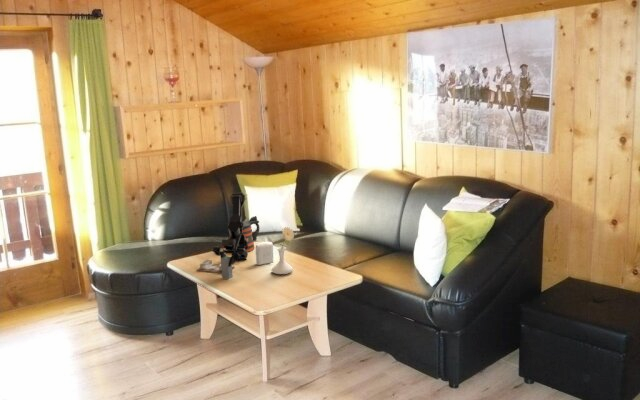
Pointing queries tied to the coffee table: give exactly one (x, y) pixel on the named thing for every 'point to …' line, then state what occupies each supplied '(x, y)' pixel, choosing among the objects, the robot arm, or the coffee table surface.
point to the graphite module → (226, 268)
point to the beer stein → (250, 232)
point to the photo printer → (264, 253)
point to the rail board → (210, 267)
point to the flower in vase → (282, 265)
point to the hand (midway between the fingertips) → (225, 266)
